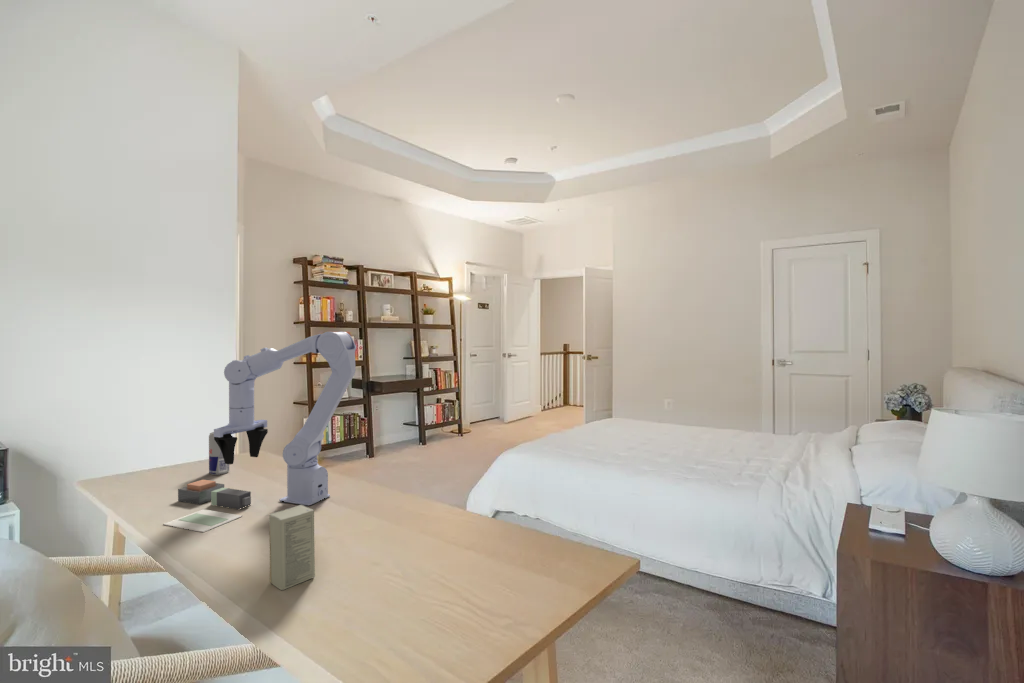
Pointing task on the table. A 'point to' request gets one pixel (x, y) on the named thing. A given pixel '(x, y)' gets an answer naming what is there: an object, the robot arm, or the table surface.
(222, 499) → the block
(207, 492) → the button housing
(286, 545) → the skincare box
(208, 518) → the paper sheet
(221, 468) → the energy drink
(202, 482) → the button
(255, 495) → the table surface
